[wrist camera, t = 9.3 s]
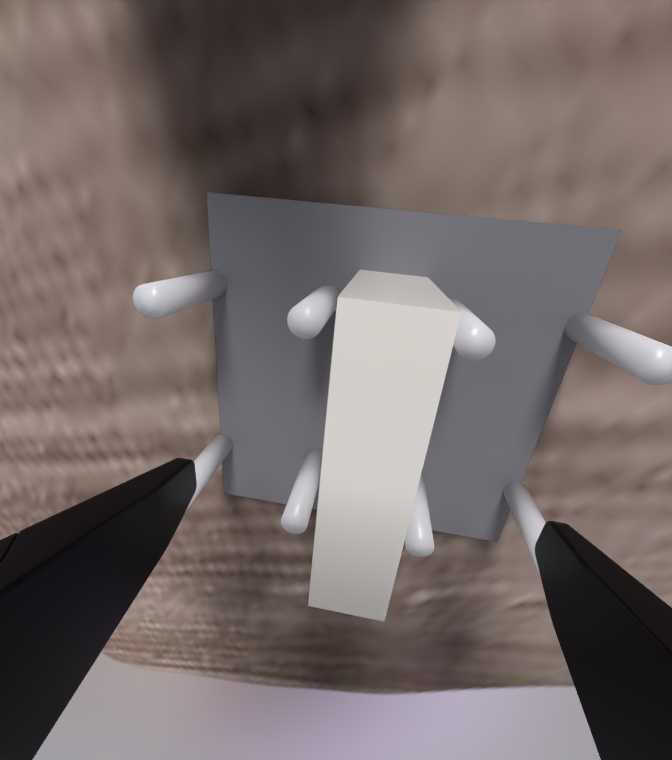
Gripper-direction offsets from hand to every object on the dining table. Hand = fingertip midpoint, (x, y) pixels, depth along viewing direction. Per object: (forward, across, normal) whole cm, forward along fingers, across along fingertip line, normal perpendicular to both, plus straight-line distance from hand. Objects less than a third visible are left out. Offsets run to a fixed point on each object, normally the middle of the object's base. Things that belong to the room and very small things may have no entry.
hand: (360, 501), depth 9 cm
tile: (+6, 0, 0) cm, 6 cm away
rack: (+7, 0, 0) cm, 7 cm away
